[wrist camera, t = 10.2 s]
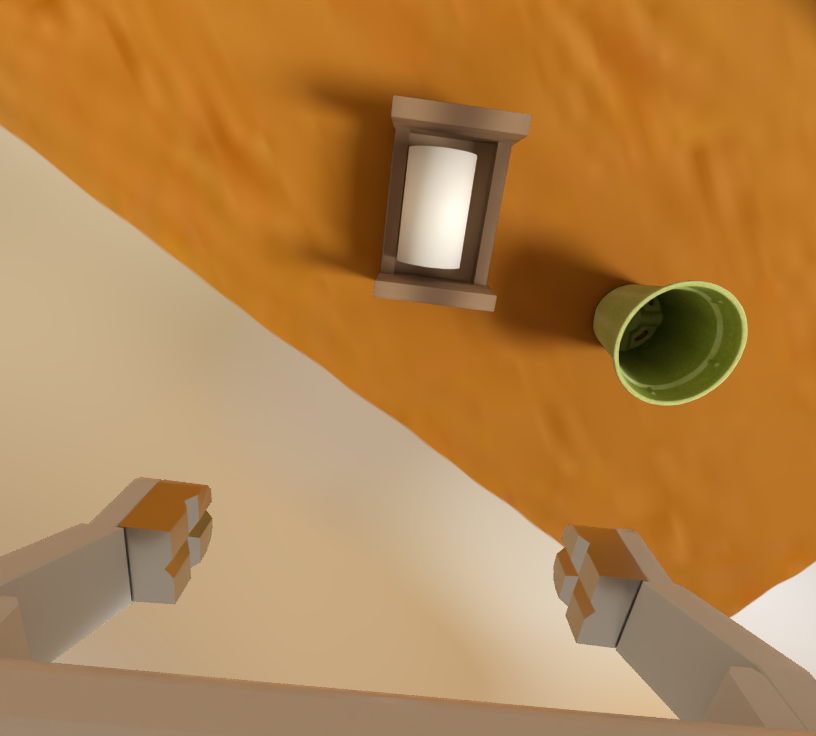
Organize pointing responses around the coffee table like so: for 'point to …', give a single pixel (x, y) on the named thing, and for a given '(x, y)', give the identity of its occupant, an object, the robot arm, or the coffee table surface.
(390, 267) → the walnut cradle
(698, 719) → the robot arm
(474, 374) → the coffee table surface
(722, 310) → the plant pot
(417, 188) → the paper roll
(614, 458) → the coffee table surface
